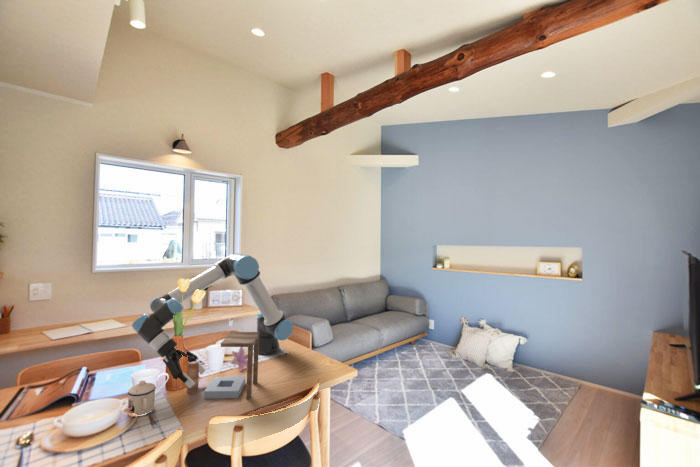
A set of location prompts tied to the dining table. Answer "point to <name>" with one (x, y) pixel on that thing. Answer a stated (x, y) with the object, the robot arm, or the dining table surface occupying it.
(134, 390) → the teacup with lid
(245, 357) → the lily
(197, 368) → the peg
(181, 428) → the dining table surface
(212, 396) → the socket
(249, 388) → the brown frame
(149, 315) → the robot arm
